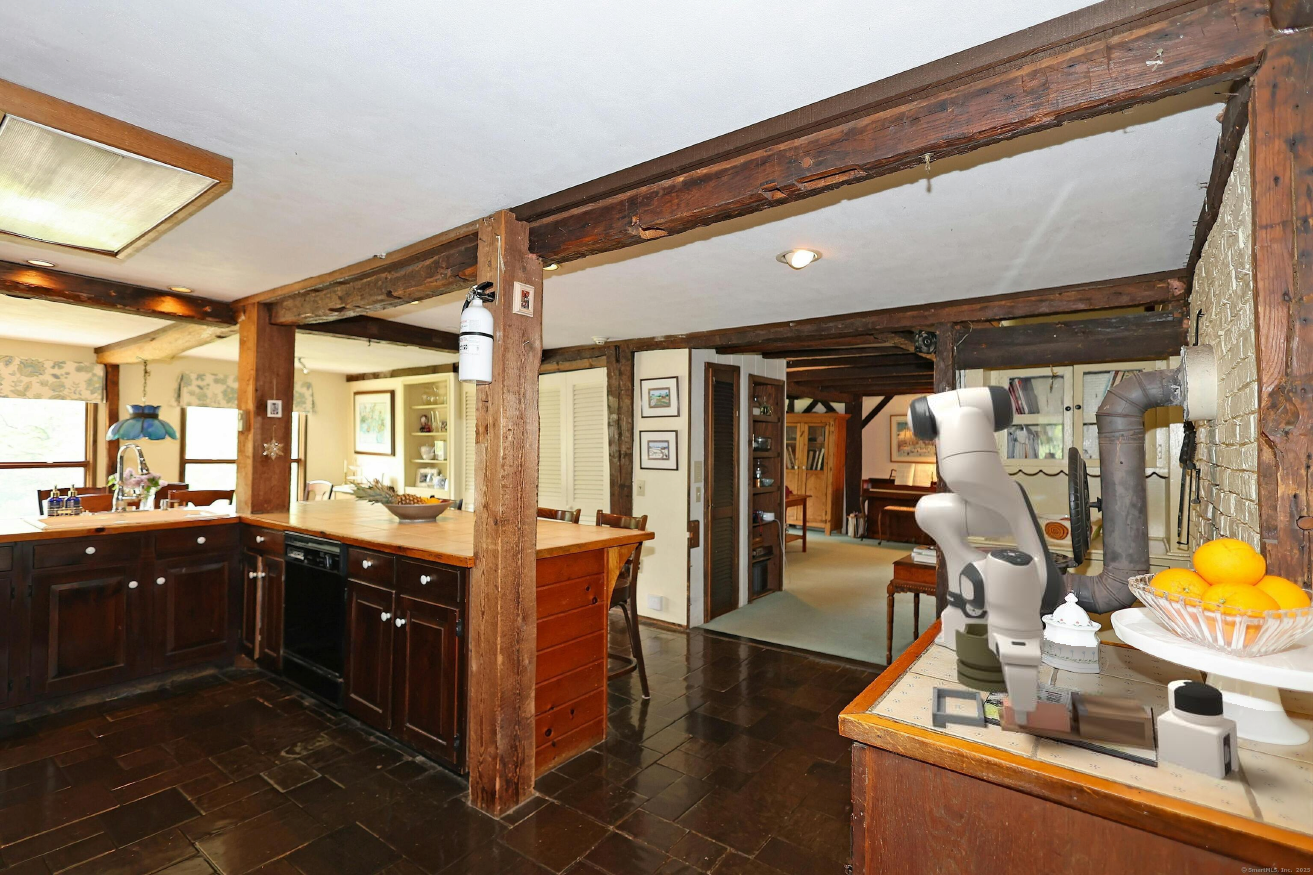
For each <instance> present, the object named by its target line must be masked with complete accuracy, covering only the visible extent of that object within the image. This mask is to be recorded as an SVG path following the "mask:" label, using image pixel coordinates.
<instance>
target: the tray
mask: <svg viewBox="0 0 1313 875" xmlns="http://www.w3.org/2000/svg"><path fill="white" fill-rule="evenodd" d="M946 698H954V699H963V700H971V701H975V702H976V709H977V716H973V715H967V714H966V715H964V714H957V713H949V712H947V702H946V700H947V699H946ZM931 703H932V706H931V708H932V710H931V716H932V717H931V718H932V726H933V727H937V728H943V729H944V728H947V724H955V725H961V726H962V725H963V726H970V727H976V728H983V729H984V728H986V727H985V725H986V724H985V715H984V708H983V702H982V695H981V691H977V690H976V691H975V690H965V689H957V688H949V687H940V686H939V687H938V686H932V702H931Z"/></svg>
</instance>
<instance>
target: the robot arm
mask: <svg viewBox="0 0 1313 875" xmlns="http://www.w3.org/2000/svg"><path fill="white" fill-rule="evenodd" d="M1015 416H1016V404H1015V400H1014V398H1013V396H1012V395H1011V393H1010V390H1008V388H1006V387H1004V386H1003V385H993V384H992V385H987V386H978V387H973V386H972V387H963V388H962V387H961V388H956V389H955V390H948V391H944V392H939V393H935V394H931V395H928V396H927V395H923V396H920V397H917V398H914V399H913V400H912V401H911V402H910V404H909V408H908V411H907V416H906V419H907V425H908V428H909V429H910V432H911V433H912V435H913V437H914V438H916V439H918V440H919V441H926V442H931V443H933V442H934V440H935V446H936V447H935V448H936V455H937V462H938V469H939V474H940V476H941V478H942V479H943V481H944V482H945V483H946V486H947V487H948V489H950V490H951V491H952V492H940V493H932V494H927V495H923V496H922V497H921V498H920V499H919V500H918V502H917V503H916V506H915V510H914V517H915V520H916V524H917V525H918V527H919V528H920V529H921V530H922V531H923V532H924V533H926V534H927V535H929V536H930V537H931V538H932V539H933V540H934V541H935V542H936V543H937V545H938V547H939V548H940V549H941V551H942V554H943V555H944V559H945V564H946V570H947V579H948V580H947V582H948V588H947V590H946V591H947V592H946V598H947V599H946V600H947V604H948V605H947V607H946V608H944V609H943V611H942V612H941V614H940V621H941V624H942V625H940V626H941V628H940V630H941V631H940V632H939V634H937V636H936V637H935V638H934V644H935V645H939V646H942V647H943V646H944V647H946V648H948V649H950V650H953V651H956V639H955V629H957V630H959V631H961V632H963V631H964V629H965V624H966V623H984V624H988V643H989V648H990V649H991V650H993V651H994V652H995V654H996V655H997V658H998V659H999V660H1000V662H1001V665H1002V672H1003V675H1004V679H1005V683H1006V687H1007V690H1008V692H1007V693H1008V698H1010V702H1011V706H1012V708H1013V709H1014V718H1015V722H1016V723H1017V724H1026V723H1027V716H1026V715H1027V711H1030V712H1034V711H1035V710H1036V706H1037V702H1038V696H1039V695H1038V694H1039V667H1042V666H1043V655H1044V653H1045V648H1044V646H1045V645H1044V644H1045V643H1044V626H1043V625H1044V624H1043V622H1042V620H1041V614H1040V613H1048V614H1049V613H1051V612H1053V611H1055V610H1056V608H1058V606H1059V605H1061V604H1062V602H1063V600H1064V599H1065V598H1066V594H1067V587H1066V586H1067V585H1066V582H1065V579H1064V577H1063V574H1062V572H1061V571H1060V569H1059V566H1058V565H1057V563H1056V561H1055V559H1054V558H1053V555H1052V554H1051V552H1050V549H1049V546H1048V543H1047V541H1046V539H1045V538H1046V537H1045V535H1044V532H1043V530H1042V528H1041V525H1040V522H1039V519H1038V517H1037V515H1036V512H1035V510H1034V507H1033V505H1032V502H1031V500H1030V498H1029V496H1028V494H1027V491H1026V490H1025V488H1024V486H1023V485H1022V484H1021V483H1020V482H1019V481H1017V480H1015V479H1013V478H1012V477H1011V475H1010V474H1009V473H1008V472H1007V470H1006V468H1005V467H1004V465H1003V463H1002V460H1001V456H1000V451H999V446H998V443H997V439H996V436H995V433H999V432H1001V431H1004V430H1008V429H1009V427H1011V426H1012V424H1013V423H1014V419H1015ZM1012 536H1014V539H1015V540H1014V541H1015V542H1016V546H1017V548H1018V550H1017V549H1013V548H999V549H994V550H992V551H990V552H989V553H986V552H984V551H982V550H980V549H978V548H976V547H974V546H973V545H972V544H971V543H970V542H969V539H968V538H969V537H974V538H976V537H977V538H978V537H979V538H1005V537H1012Z"/></svg>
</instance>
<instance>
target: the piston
mask: <svg viewBox="0 0 1313 875" xmlns="http://www.w3.org/2000/svg"><path fill="white" fill-rule="evenodd" d="M955 639H956V650H955V655H956V657H957V659H956V676H957V678H956V679H957V682H958V683H959V684H961V685H962V686H964V687H966V688H970V689H972V690H974V691H975V690H976V691H978V692H986V693H998V694H999V693H1008V690H1007V687H1006V683H1005V679H1004V675H1003V672H1002V665H1001V662H1000V660H999V659H998V658H997V655H996V654H995V652H994V651H993V650H991V649H990V648H989V643H988V624H984V623H966V624H965V629H964V631H963V632H961V631H959V630H957V629H955Z"/></svg>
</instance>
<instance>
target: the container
mask: <svg viewBox="0 0 1313 875" xmlns="http://www.w3.org/2000/svg"><path fill="white" fill-rule="evenodd" d="M1167 693H1168V694H1167V695H1168V697H1167V698H1168V709H1169V710H1167V711H1166V712H1164V713H1162V714H1160V715H1159V716H1157V718H1156V722H1157V742H1158V743H1157V744H1158V758H1159V760H1160V761H1162V762H1165V763H1168V764H1172V765H1175V766H1177V767H1181V768H1184V769H1186V770H1189V771H1194V772H1196V773H1199V774H1202V775H1206V776H1209V777H1212V778H1214V779H1218V780H1223V779H1224V778H1225V777H1227V775H1229V774H1230V773H1231V772H1232V771H1233V770H1234V771H1235V773H1237V772H1239V768H1240V767H1239V749H1238V748H1239V747H1238V734H1237V733H1238V731H1237V722H1236V721H1235V720H1233V719H1229V718H1225V717H1224V716H1225V715H1224V700H1223V699H1224V698H1223V693H1222V692H1221V691H1220V690H1219V689H1218V688H1216V687H1215V686H1212V685H1210V684H1207V683H1204V682H1201V681H1198V680H1197V681H1196V680H1188V679H1180V680H1179V679H1178V680H1173V681H1171V682H1169V683H1168V684H1167Z"/></svg>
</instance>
